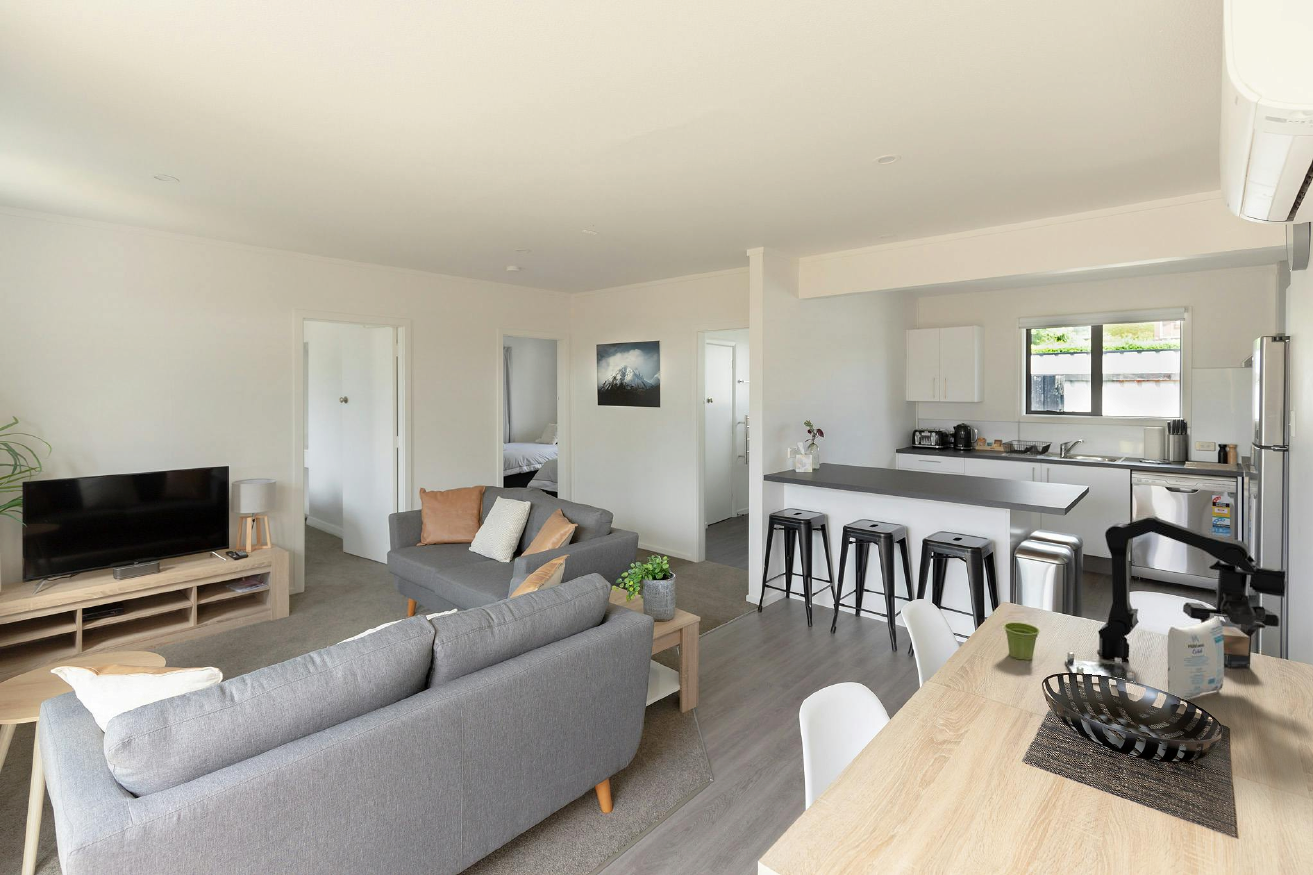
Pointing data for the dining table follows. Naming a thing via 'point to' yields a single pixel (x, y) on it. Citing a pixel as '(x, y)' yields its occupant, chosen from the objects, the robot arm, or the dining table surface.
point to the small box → (1234, 659)
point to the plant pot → (1021, 639)
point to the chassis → (1098, 668)
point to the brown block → (1235, 641)
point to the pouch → (1196, 659)
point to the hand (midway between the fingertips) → (1227, 645)
